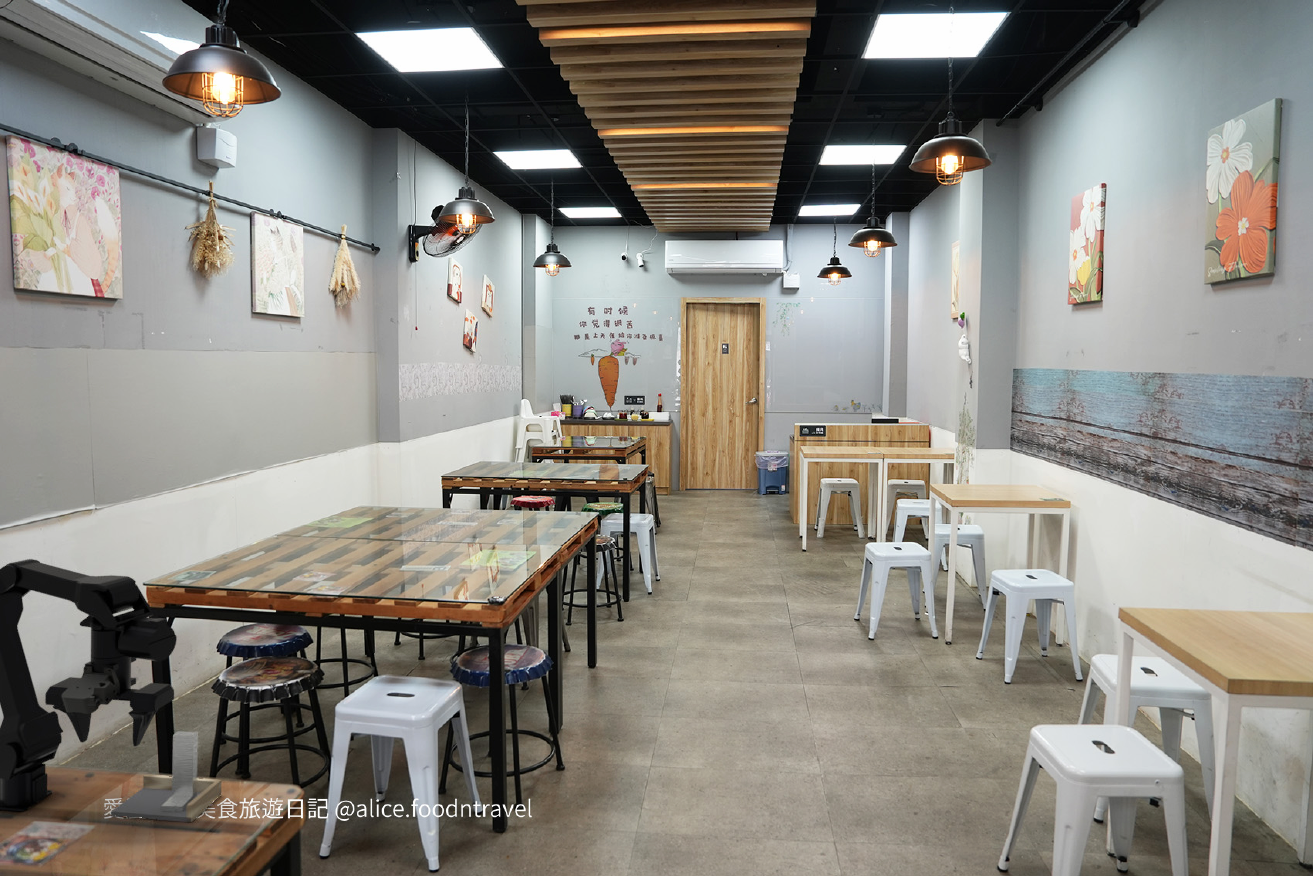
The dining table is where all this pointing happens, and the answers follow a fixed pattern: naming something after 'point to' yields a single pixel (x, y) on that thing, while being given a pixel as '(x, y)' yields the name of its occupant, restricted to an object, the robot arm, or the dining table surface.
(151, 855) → the dining table surface
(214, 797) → the wooden corner walls
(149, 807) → the charcoal mat
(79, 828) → the dining table surface
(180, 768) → the aluminium bracket
